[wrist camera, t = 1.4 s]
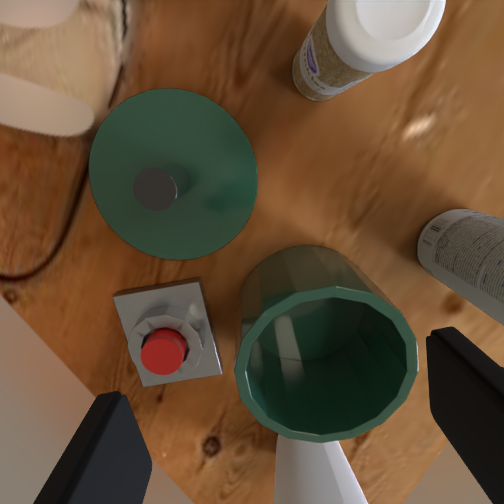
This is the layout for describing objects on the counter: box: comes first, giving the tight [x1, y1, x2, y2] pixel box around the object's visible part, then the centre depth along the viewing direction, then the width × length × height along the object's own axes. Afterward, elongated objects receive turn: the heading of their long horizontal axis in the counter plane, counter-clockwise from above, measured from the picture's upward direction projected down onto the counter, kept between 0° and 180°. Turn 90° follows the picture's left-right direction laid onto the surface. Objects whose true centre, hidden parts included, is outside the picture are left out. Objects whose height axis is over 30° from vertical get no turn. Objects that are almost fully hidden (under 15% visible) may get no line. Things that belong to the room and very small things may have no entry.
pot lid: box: [89, 88, 258, 260], centre depth 25 cm, size 14×14×7 cm
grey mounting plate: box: [113, 277, 223, 387], centre depth 31 cm, size 10×8×3 cm
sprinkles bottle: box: [292, 0, 446, 101], centre depth 20 cm, size 5×5×14 cm
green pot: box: [234, 245, 418, 443], centre depth 28 cm, size 13×13×10 cm
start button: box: [140, 329, 186, 375], centre depth 29 cm, size 4×4×2 cm
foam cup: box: [274, 434, 368, 504], centre depth 31 cm, size 10×9×13 cm
